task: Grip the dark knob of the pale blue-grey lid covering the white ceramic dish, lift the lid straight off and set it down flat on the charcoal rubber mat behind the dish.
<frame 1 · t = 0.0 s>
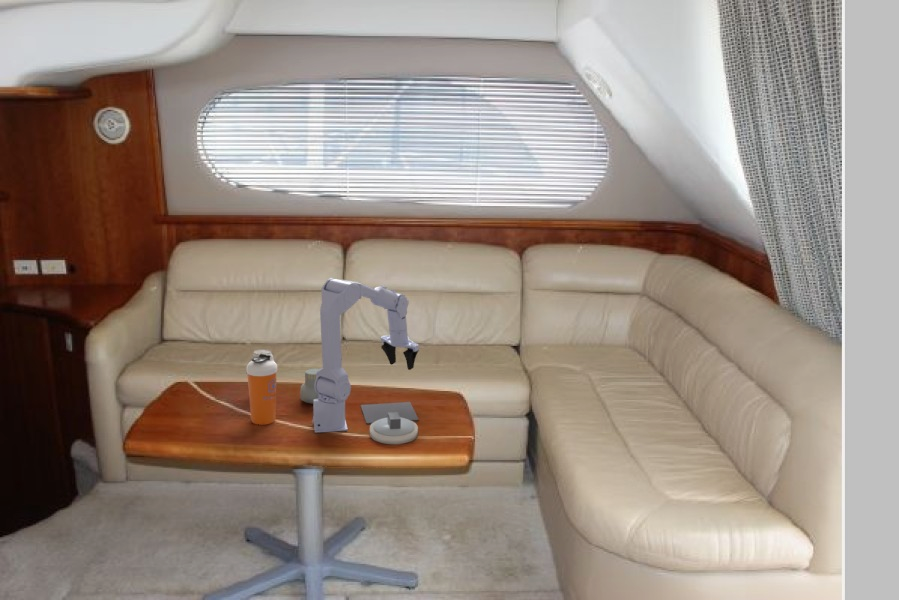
hand: (401, 365, 238), 11 cm above the table, tool pointing down, fingers open, 7 cm apart
beer can: (263, 395, 237), on the table
lid: (393, 427, 212), point 2 cm above the table, touching dish
shaker bottle: (263, 420, 218), on the table
air freshener: (314, 401, 235), on the table
mat: (389, 413, 227), on the table
dish: (393, 433, 212), on the table
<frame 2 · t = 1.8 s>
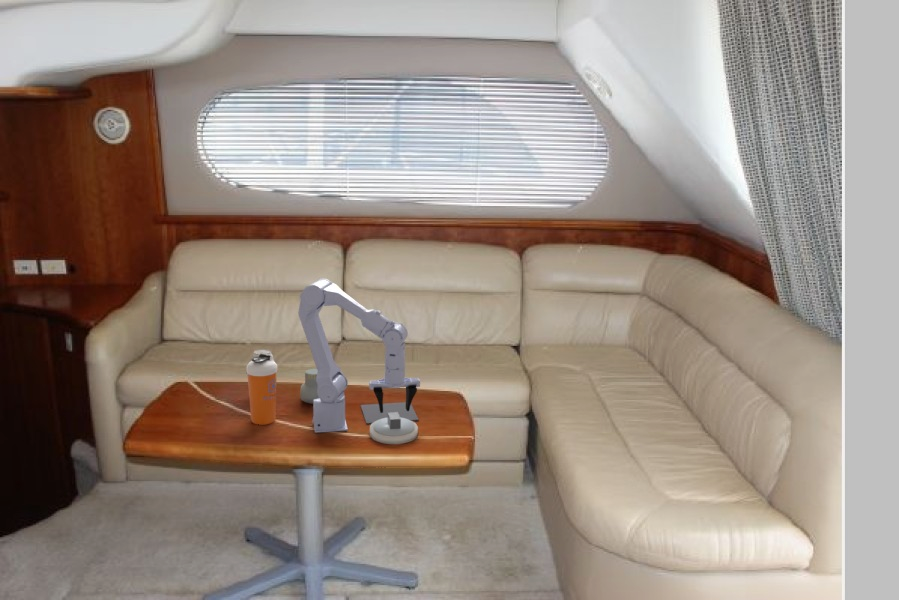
hand: (394, 410, 210), 7 cm above the table, tool pointing down, fingers open, 7 cm apart
nothing on the table moved.
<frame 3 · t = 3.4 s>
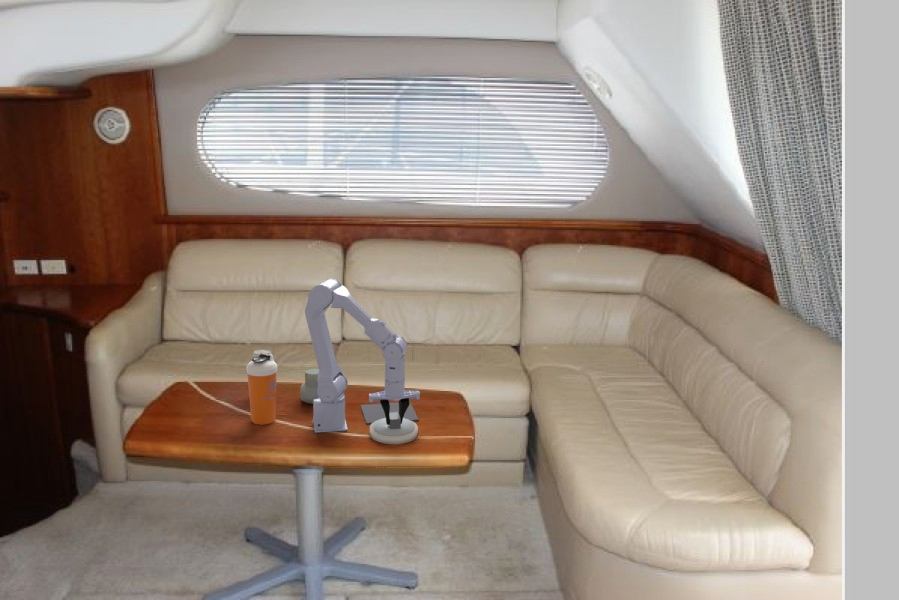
hand: (394, 423, 211), 3 cm above the table, tool pointing down, fingers closed on lid, 3 cm apart
lid: (393, 427, 212), point 2 cm above the table, touching dish, gripper
everything else where it was.
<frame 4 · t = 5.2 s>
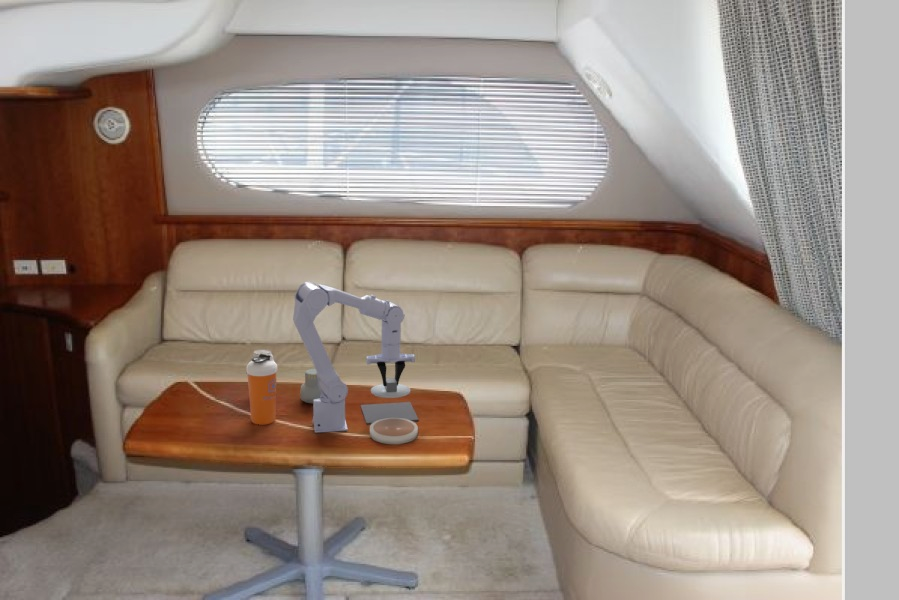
hand: (390, 384, 222), 10 cm above the table, tool pointing down, fingers closed on lid, 3 cm apart
lid: (390, 391, 222), point 8 cm above the table, touching gripper
everything else where it was.
when the fingers open (3 cm above the table, at t = 7.5 s): lid stays where it is, resting on mat.
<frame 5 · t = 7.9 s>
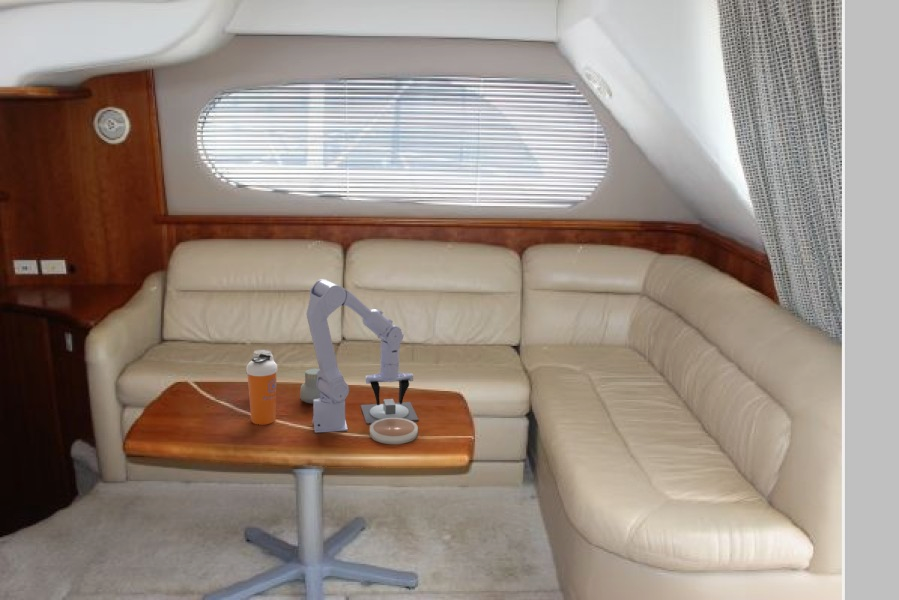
hand: (389, 403, 226), 3 cm above the table, tool pointing down, fingers open, 6 cm apart
lid: (389, 412, 226), resting on mat
everything else where it was.
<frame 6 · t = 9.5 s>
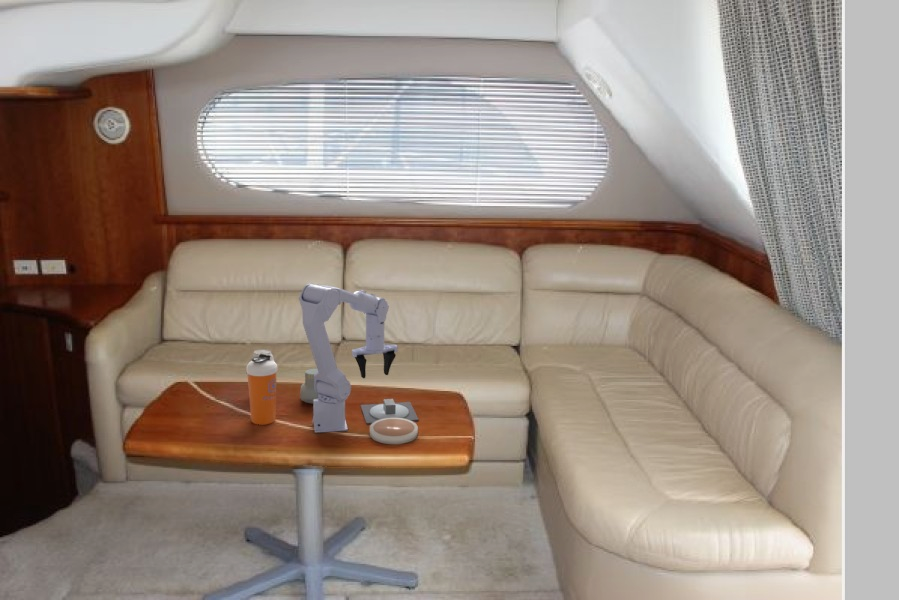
hand: (374, 375, 229), 10 cm above the table, tool pointing down, fingers open, 7 cm apart
nothing on the table moved.
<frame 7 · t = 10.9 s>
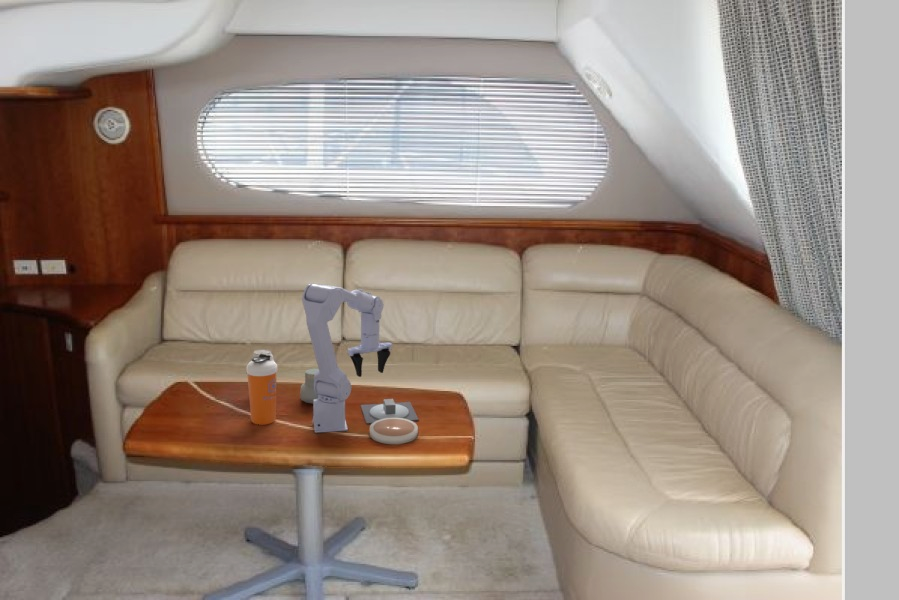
hand: (369, 373, 230), 10 cm above the table, tool pointing down, fingers open, 7 cm apart
nothing on the table moved.
at the end: lid inside the target area on the mat (0.5 cm from its centre), point 0.4 cm above the mat's base; lid tilted 0°; lid touching mat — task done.
